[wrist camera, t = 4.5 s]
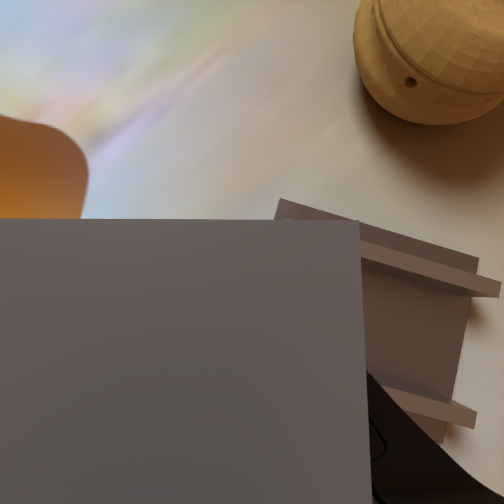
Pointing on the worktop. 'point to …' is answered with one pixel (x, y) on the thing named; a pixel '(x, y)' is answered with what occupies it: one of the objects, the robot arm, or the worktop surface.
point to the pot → (432, 57)
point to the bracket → (413, 317)
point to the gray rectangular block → (182, 362)
